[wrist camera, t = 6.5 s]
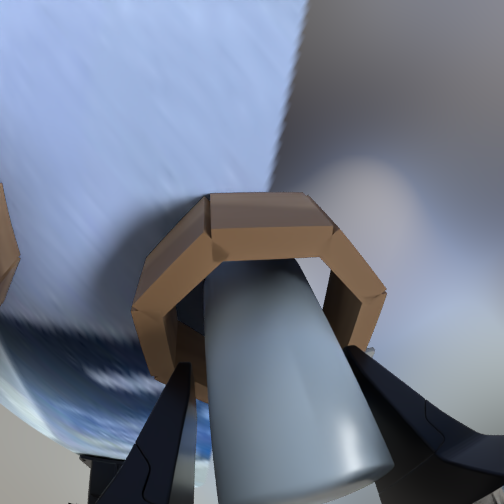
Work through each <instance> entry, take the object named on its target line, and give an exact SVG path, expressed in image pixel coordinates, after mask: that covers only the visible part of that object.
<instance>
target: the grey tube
mask: <svg viewBox="0 0 504 504" xmlns="http://www.w3.org/2000/svg"><path fill="white" fill-rule="evenodd" d="M203 306H204V334H205V356H206V374H207V390H208V404H209V417H210V429H211V440H212V451H213V461H214V470H215V478H216V487H217V496H218V503H219V504H323V503H326V502H329V501H332V500H335V499H338V498H341V497H343V496H346V495H348V494H351V493H353V492H355V491H357V490H360V489H362V488H364V487H366V486H368V485H370V484H372V483H373V482H375V481H377V480H378V479H380V478H382V477H383V476H384V475H386V474H387V473H388V472H390V471H391V470H392V469H393V467H394V462H393V460H392V457H391V455H390V453H389V450H388V448H387V446H386V443H385V441H384V439H383V437H382V434H381V432H380V430H379V428H378V425H377V423H376V421H375V419H374V417H373V414H372V412H371V410H370V408H369V406H368V403H367V401H366V399H365V397H364V395H363V393H362V391H361V388H360V386H359V384H358V382H357V380H356V378H355V376H354V374H353V371H352V369H351V367H350V365H349V363H348V361H347V359H346V357H345V355H344V353H343V351H342V349H341V347H340V345H339V343H338V341H337V338H336V336H335V334H334V332H333V330H332V328H331V326H330V324H329V322H328V320H327V318H326V316H325V314H324V312H323V310H322V308H321V306H320V305H319V303H318V301H317V299H316V297H315V295H314V293H313V291H312V289H311V287H310V285H309V283H308V281H307V279H306V277H305V275H304V273H303V271H302V270H301V268H300V266H299V264H298V262H297V261H296V259H295V258H287V259H266V260H244V261H223V262H222V263H221V264H220V265H218V266H217V267H216V268H215V269H214V270H213V271H212V272H211V273H210V274H209V275H208V276H207V277H206V278H205V281H204V286H203Z"/></svg>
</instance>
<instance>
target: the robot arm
mask: <svg viewBox="0 0 504 504" xmlns="http://www.w3.org/2000/svg"><path fill="white" fill-rule="evenodd" d="M342 351H343V353H344V355H345V357H346V359H347V361H348V363H349V365H350V367H351V369H352V371H353V374H354V376H355V378H356V380H357V382H358V384H359V386H360V388H361V391H362V393H363V395H364V397H365V399H366V401H367V403H368V406H369V408H370V410H371V412H372V414H373V417H374V419H375V421H376V423H377V425H378V428H379V430H380V432H381V434H382V437H383V439H384V441H385V443H386V446H387V448H388V450H389V453H390V455H391V457H392V460H393V462H394V467H393V469H392V470H391V471H390V472H388V473H387V474H386V475H384V476H383V477H382V478H380V479H378V480H377V481H375V484H376V487H377V490H378V493H379V497H380V500H381V503H382V504H504V435H484V434H480V433H478V432H476V431H474V430H472V429H470V428H469V427H467V426H465V425H464V424H462V423H460V422H459V421H457V420H455V419H454V418H452V417H450V416H449V415H447V414H446V413H444V412H442V411H441V410H439V409H438V408H437V407H436V406H434V405H433V404H431V403H430V402H429V401H428V400H425V399H424V398H423V397H422V396H421V395H420V394H418V393H417V392H416V391H414V390H413V389H412V388H410V387H409V386H408V385H406V384H405V383H404V382H403V381H401V380H400V379H399V378H397V377H396V376H395V375H393V374H392V373H391V372H389V371H388V370H387V369H386V368H384V367H383V366H382V365H380V364H379V363H378V362H377V361H375V360H374V359H373V358H371V357H370V356H369V355H368V354H366V353H365V352H364V351H362V350H361V349H360V348H359V347H357V346H356V345H350V346H345V347H344V348H343V350H342ZM196 434H197V412H196V398H195V381H194V374H193V369H192V364H191V362H179V363H178V364H177V366H176V367H175V369H174V371H173V373H172V375H171V377H170V378H169V380H168V382H167V384H166V386H165V388H164V390H163V391H162V393H161V395H160V397H159V399H158V401H157V403H156V404H155V406H154V408H153V410H152V412H151V414H150V416H149V417H148V419H147V421H146V423H145V425H144V427H143V429H142V431H141V432H140V434H139V436H138V438H137V440H136V442H135V443H136V444H134V445H133V447H132V449H131V451H130V453H129V455H128V456H127V458H126V460H125V462H124V461H116V460H108V459H101V458H95V457H89V456H83V455H80V460H81V461H82V462H84V463H85V464H86V465H87V466H89V468H91V471H90V481H89V491H88V504H194V477H195V453H196ZM68 504H71V503H68Z"/></svg>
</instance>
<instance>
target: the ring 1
mask: <svg viewBox="0 0 504 504" xmlns="http://www.w3.org/2000/svg"><path fill="white" fill-rule="evenodd" d="M19 256H20V252H19V249H18V246H17V242H16V239H15V236H14V232H13V228H12V225H11V221H10V217H9V213H8V209H7V204H6V200H5V195H4V190H3V185H2V183H0V306H1V305H2V303H3V302H4V300H5V298H6V295H7V292H8V289H9V287H10V284H11V281H12V279H13V276H14V273H15V271H16V268H17V266H18V264H19V261H20V258H19Z"/></svg>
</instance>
